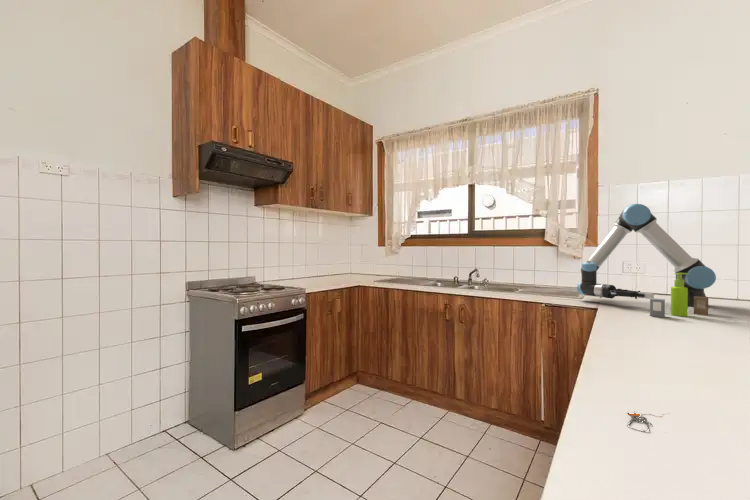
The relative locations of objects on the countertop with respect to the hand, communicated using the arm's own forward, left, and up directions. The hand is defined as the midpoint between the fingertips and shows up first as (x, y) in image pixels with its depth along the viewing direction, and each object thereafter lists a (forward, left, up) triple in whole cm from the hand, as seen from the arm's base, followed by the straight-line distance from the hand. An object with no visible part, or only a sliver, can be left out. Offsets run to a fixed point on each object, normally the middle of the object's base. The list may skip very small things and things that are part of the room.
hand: (652, 296), depth 173 cm
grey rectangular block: (+12, +8, -8) cm, 16 cm away
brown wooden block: (-13, +13, -8) cm, 20 cm away
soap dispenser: (0, +11, -8) cm, 14 cm away
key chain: (+122, +65, -8) cm, 139 cm away
